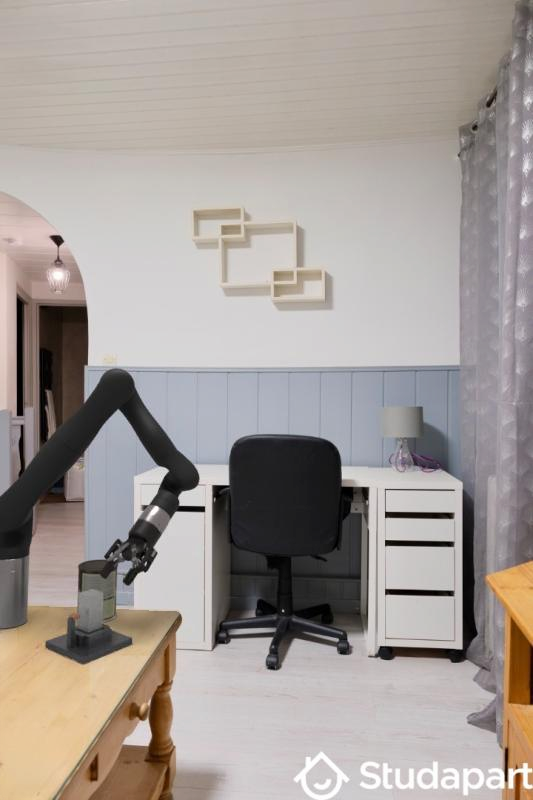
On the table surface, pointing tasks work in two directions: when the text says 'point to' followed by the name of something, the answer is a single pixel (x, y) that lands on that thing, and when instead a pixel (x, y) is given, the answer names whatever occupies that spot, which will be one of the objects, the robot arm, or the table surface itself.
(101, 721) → the table surface
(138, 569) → the robot arm
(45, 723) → the table surface
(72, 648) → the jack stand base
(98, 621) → the steel column
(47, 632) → the table surface
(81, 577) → the coffee can
